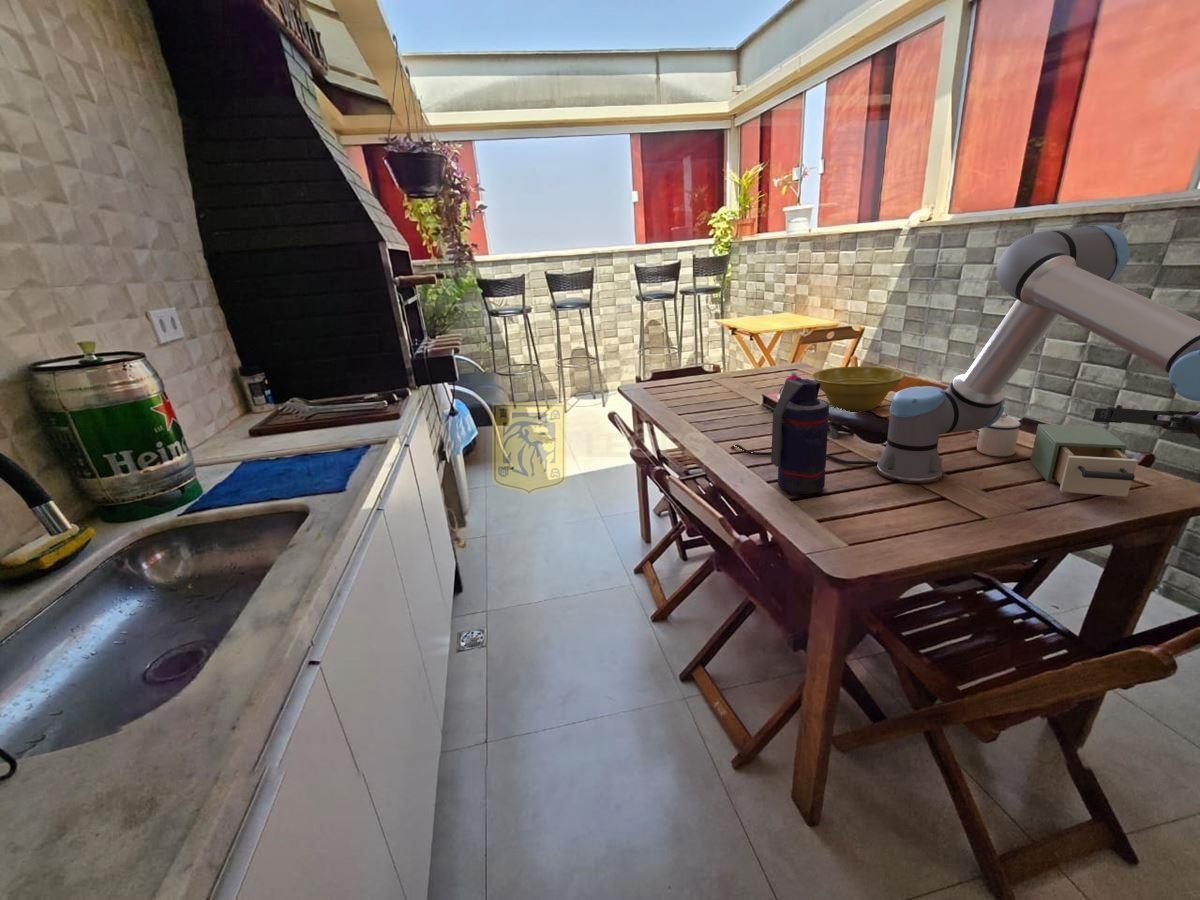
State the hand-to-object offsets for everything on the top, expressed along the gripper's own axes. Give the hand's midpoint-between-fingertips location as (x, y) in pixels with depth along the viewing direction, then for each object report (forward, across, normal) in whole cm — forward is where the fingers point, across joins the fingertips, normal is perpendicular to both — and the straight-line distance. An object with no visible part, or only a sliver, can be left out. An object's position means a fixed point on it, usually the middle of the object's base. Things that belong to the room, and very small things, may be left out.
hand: (1134, 420), depth 101 cm
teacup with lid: (+42, -4, -12) cm, 44 cm away
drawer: (+15, +5, -16) cm, 23 cm away
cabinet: (+25, +7, -14) cm, 30 cm away
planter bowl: (+90, -30, -4) cm, 95 cm away
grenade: (+17, -58, -30) cm, 67 cm away
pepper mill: (+68, -57, -4) cm, 88 cm away
